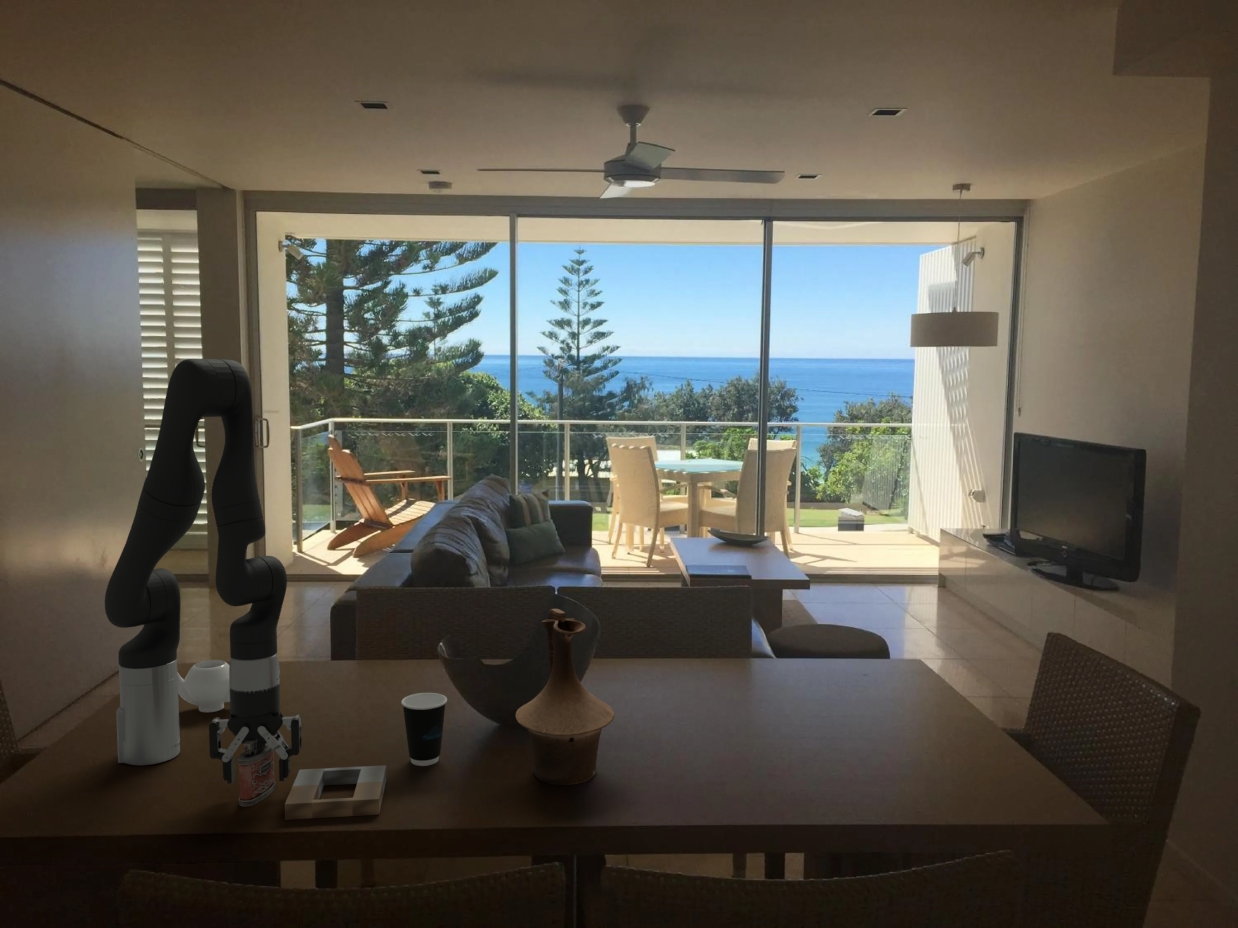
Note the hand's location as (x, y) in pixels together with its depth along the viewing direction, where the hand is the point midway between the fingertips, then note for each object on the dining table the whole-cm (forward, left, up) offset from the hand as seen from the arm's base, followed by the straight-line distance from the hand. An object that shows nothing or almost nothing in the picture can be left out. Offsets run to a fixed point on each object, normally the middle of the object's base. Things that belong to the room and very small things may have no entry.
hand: (257, 780), depth 156 cm
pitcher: (+50, +3, -3) cm, 50 cm away
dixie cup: (+26, +11, -3) cm, 28 cm away
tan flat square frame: (+13, -3, -2) cm, 14 cm away
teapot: (-18, +43, -3) cm, 47 cm away
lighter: (0, 0, -3) cm, 3 cm away
